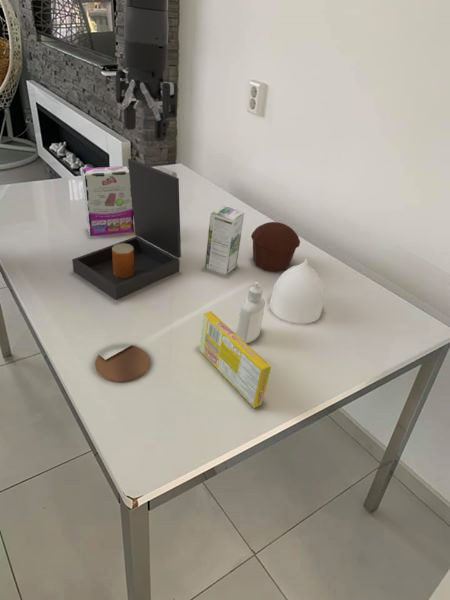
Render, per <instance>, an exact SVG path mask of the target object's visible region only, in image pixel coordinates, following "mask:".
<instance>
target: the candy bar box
mask: <svg viewBox="0 0 450 600" xmlns="http://www.w3.org/2000/svg"><path fill="white" fill-rule="evenodd" d="M81 172H82V173H81V175H82V182H83V183H82V184H83V194H84V205H85V206H84V207H85V215H86V225H87V226H86V227H87V231H88V234H89V236H90V237H94V236H105V235H115V234H127V233H135V226H134V216H133V206H132V196H131V186H130V176H129V166H128V165H122V166H120V165H119V166H104V167H101V166H100V167H99V166H98V167H85V168H84V167H83V168H81Z"/></svg>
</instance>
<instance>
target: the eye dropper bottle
mask: <svg viewBox="0 0 450 600" xmlns="http://www.w3.org/2000/svg"><path fill="white" fill-rule="evenodd" d="M262 295H263V288H262V287H260V282H258V281H254V283H253V285H251V286H250V287H248V294H247V297H246V298H245V299H244V301H243V302H242V304H241V306H240V310H239V315H238V316H239V317H238V323H237V330H236V335H237V336H238V337H239V338H241V339H242V340H243V341H244V342H245V343H246V344H247V345H248V344H249V343H252V342H254V341H255V340H257V339H258V337H259V336H260V333H261V329H262V323H263V319H264V318H263V317H264V313H265V308H266V300H265V298H263V297H262Z"/></svg>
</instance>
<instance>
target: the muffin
mask: <svg viewBox="0 0 450 600" xmlns="http://www.w3.org/2000/svg"><path fill="white" fill-rule="evenodd" d="M251 241H252V260H253V262H254V264H255V266H256V267H257V268H259V269H262V270H263V271H264V272H273V273H278V272H285V271H286V270H287V269H288V268H289V266H290V264H291V263H292V260H293V257H294V254H295V252H296V249H297V248H299V247H300V244H301V240H300V238H299V235H298V234H297V232H296V231H295V230H294V229H293V228H292V227H291V226H289V225H287V224H285V223H282V222H278V221H268V222H265V223H262V224H261V225H258V226H257V227H256V228H255V229H254V230H253V232H252V233H251Z"/></svg>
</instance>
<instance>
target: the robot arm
mask: <svg viewBox="0 0 450 600" xmlns="http://www.w3.org/2000/svg"><path fill="white" fill-rule="evenodd" d="M124 3H125V7H124V8H125V9H124V18H123V19H124V20H123V33H124V34H123V43H124V44H123V47H124V48H123V49H124V50H123V52H124V53H123V56H124V58H123V59H124V61H123V62H124V66H125V67H126V68H123V69H122V68H117V69H116V70H115V102H116V103H117V104H120V105H121V107H122V109H123V124H124V129H125V130H127V131H129V130H131V131H132V130H135V129H136V127H137V123H136V122H137V119H136V118H137V109H136V107H137V105H138V103H139V102H140V101H141V102H143V103H145V104H147V106H148V108H149V109H151V110H152V113H153V115H154V117H155V120H154V140H155V141H157V142H163V141H165V140H166V139H167V136H168V121H169V120H171V119H176V118H177V116H178V113H177V112H178V85H177V83H176V82H174V81H173V82H170V81H169V82H167V81H165V79H164V74H165V72H166V71H167V70H168V50H169V49H168V47H169V15H168V13H169V12H168V10H169V6H168V5H169V0H124Z"/></svg>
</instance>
